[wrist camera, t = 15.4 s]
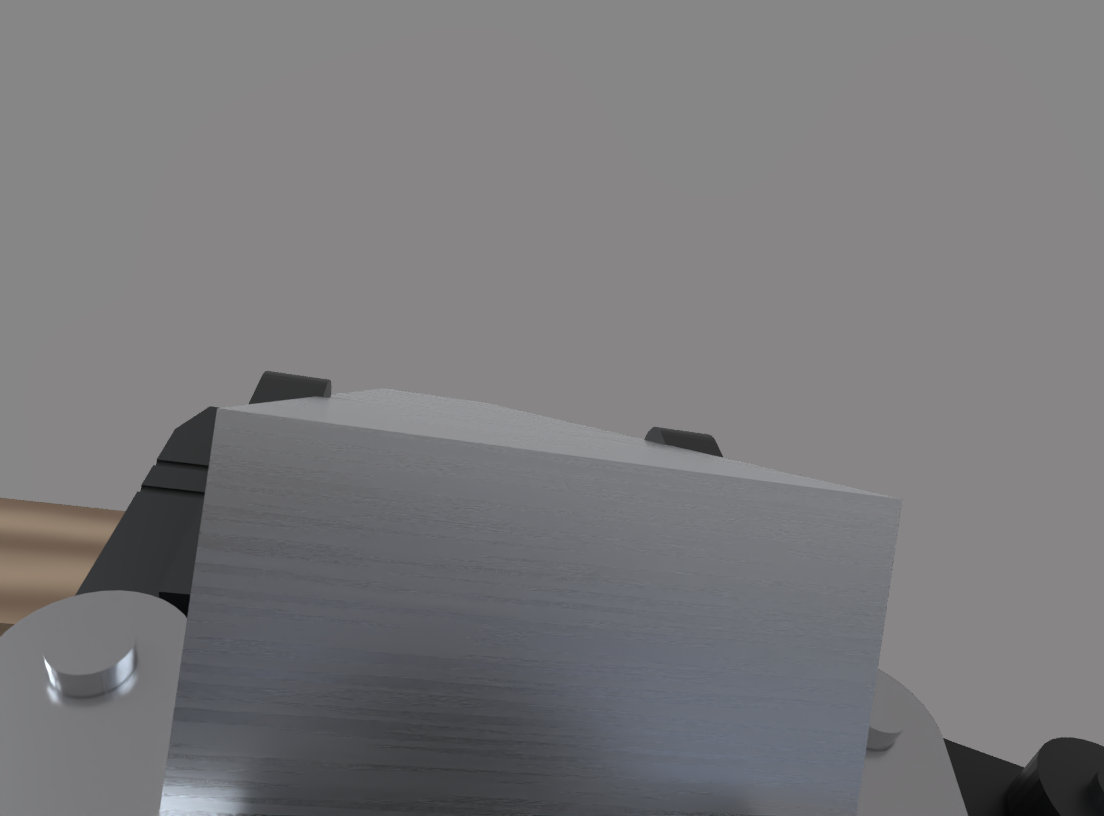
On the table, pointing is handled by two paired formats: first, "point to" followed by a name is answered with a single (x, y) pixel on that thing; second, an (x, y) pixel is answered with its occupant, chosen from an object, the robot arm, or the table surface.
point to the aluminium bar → (518, 621)
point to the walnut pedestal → (47, 553)
